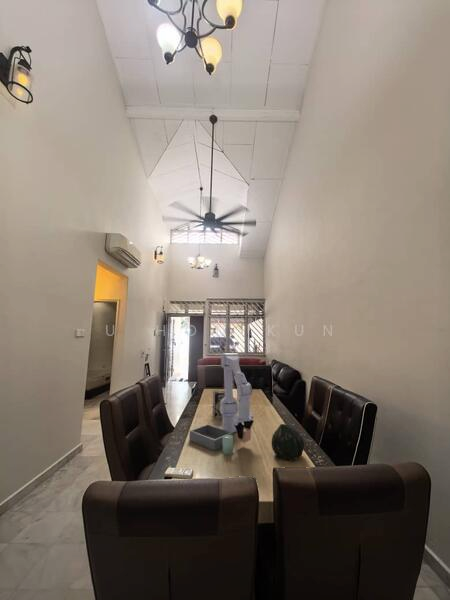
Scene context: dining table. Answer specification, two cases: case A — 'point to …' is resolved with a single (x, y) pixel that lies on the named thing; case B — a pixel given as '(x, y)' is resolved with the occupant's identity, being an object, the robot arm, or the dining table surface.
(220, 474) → the dining table surface
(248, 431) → the terracotta cube
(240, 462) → the dining table surface
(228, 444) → the sage cylinder
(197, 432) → the tray
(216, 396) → the coffee box
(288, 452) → the squash
